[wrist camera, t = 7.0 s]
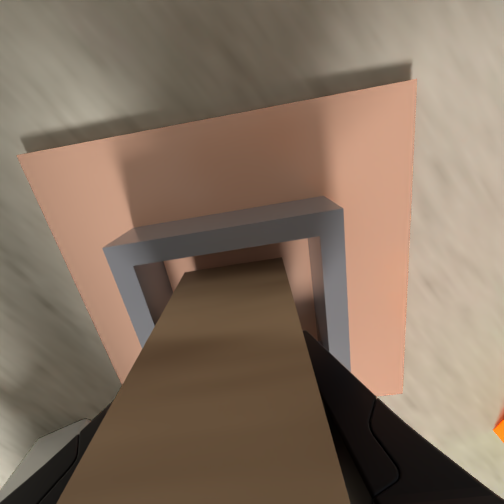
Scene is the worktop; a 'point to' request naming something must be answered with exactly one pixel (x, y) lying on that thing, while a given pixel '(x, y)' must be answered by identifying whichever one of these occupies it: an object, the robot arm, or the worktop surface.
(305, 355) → the wooden block
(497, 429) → the orange juice
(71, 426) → the lighter
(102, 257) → the block holder
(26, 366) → the worktop surface
